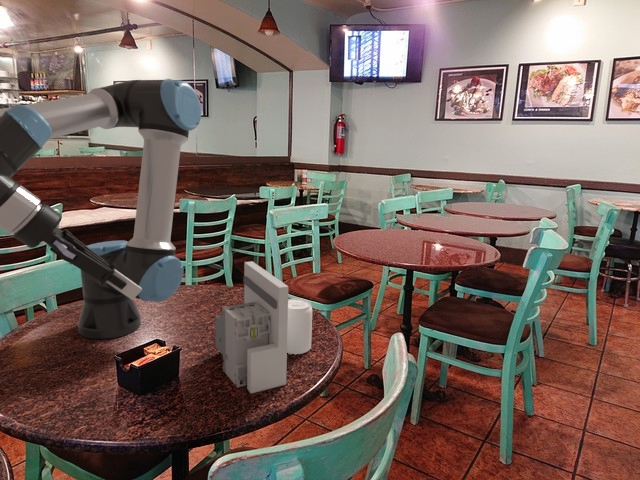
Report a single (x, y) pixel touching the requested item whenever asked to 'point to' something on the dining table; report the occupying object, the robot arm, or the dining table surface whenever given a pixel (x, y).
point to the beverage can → (299, 326)
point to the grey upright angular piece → (273, 297)
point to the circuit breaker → (240, 337)
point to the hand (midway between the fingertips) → (136, 293)
